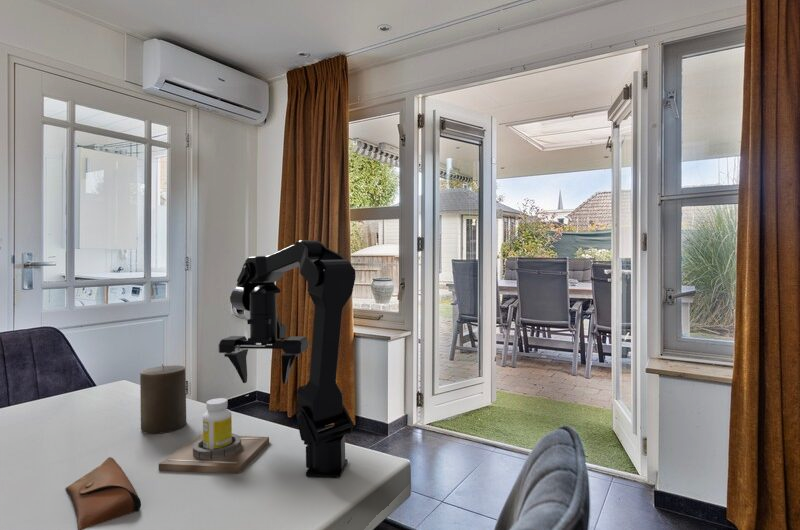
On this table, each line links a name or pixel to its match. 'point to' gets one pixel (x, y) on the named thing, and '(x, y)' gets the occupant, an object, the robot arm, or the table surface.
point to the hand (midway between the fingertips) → (264, 383)
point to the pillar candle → (163, 399)
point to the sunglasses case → (103, 495)
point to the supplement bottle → (217, 424)
